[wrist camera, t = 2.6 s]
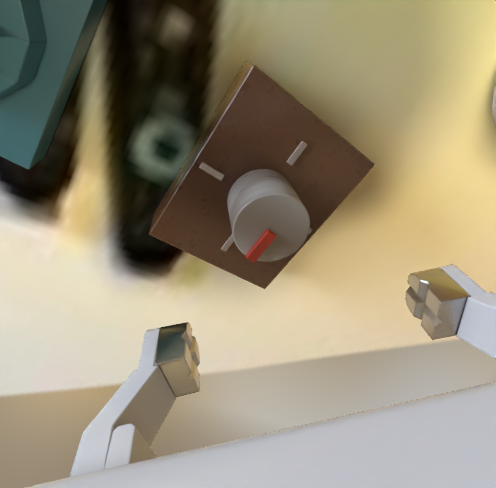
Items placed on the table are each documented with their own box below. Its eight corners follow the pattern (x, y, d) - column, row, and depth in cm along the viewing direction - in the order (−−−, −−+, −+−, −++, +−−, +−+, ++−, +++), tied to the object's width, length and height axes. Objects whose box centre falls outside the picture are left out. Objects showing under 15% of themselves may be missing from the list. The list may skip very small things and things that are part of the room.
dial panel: (245, 60, 18) (254, 64, 15) (355, 149, 21) (377, 165, 19) (154, 212, 22) (147, 236, 19) (258, 264, 25) (265, 291, 23)
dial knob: (253, 154, 17) (265, 180, 14) (306, 190, 19) (328, 221, 16) (214, 210, 19) (217, 245, 16) (266, 239, 21) (279, 276, 17)
